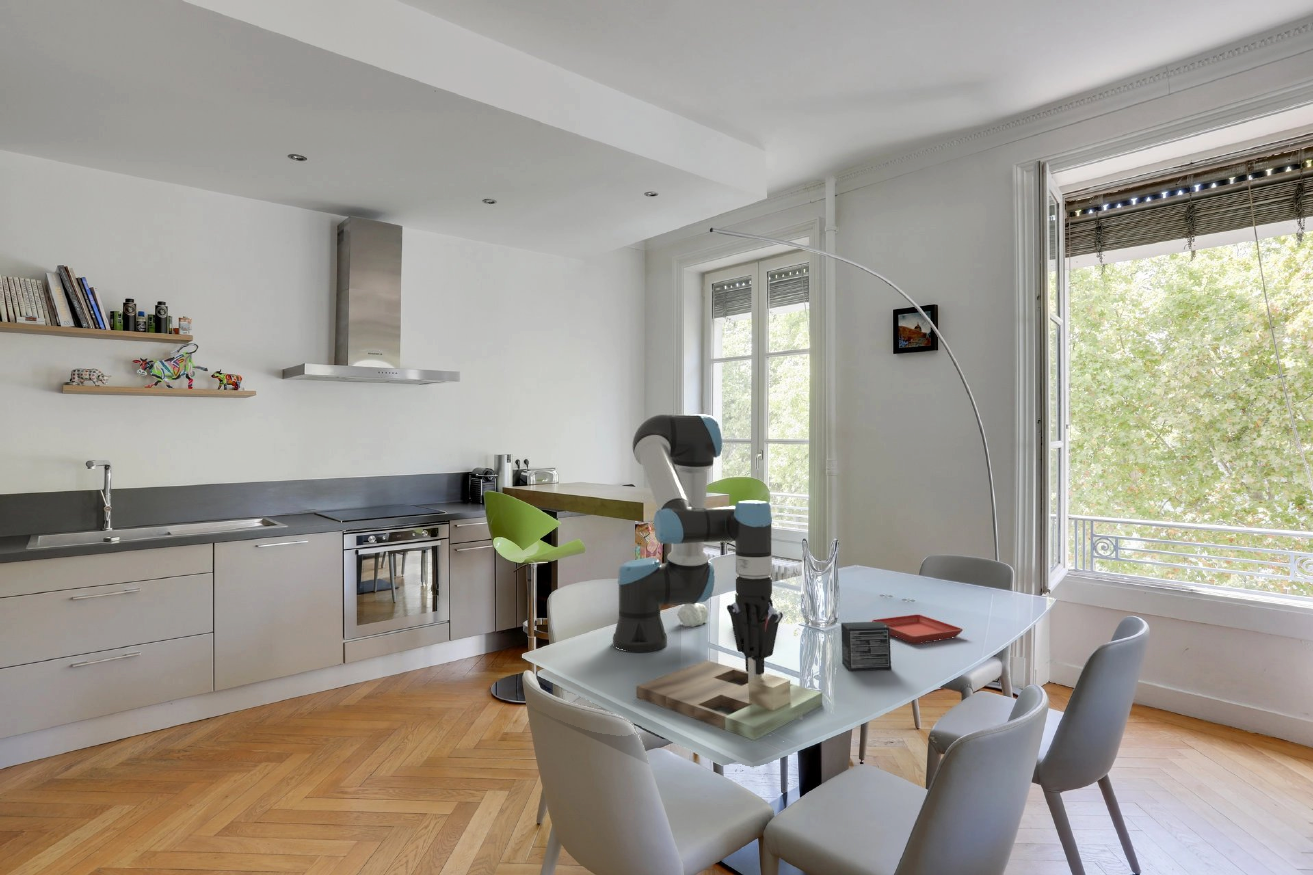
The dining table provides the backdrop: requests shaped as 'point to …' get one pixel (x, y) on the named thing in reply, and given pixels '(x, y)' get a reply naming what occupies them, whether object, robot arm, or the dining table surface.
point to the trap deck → (724, 699)
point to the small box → (866, 646)
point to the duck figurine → (692, 614)
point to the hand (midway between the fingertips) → (755, 688)
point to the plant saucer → (919, 628)
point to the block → (769, 691)
